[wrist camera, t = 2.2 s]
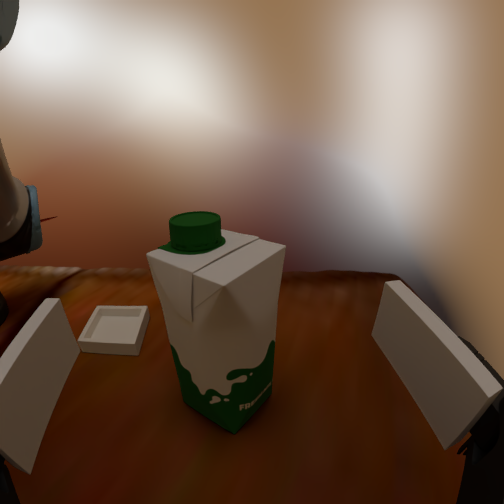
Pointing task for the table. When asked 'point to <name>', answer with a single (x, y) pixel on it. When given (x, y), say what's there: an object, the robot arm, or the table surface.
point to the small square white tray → (115, 330)
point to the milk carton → (219, 314)
